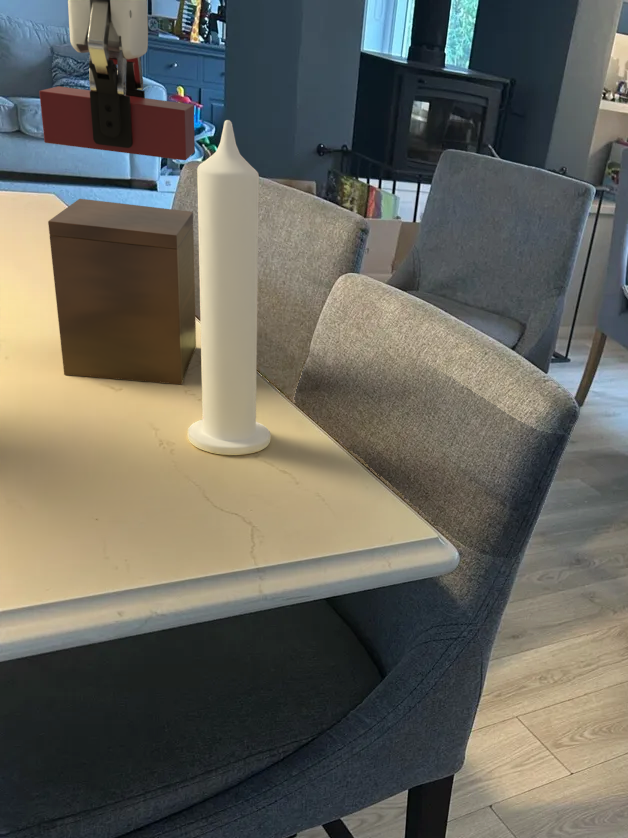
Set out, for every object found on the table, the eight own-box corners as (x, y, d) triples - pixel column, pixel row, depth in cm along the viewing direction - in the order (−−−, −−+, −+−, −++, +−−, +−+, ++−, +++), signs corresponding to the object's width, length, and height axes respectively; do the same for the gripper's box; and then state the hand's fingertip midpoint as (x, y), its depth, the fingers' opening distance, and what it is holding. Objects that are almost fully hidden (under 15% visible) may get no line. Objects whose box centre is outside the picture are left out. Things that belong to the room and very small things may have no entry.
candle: (222, 417, 82) (219, 112, 68) (286, 438, 79) (296, 127, 66) (170, 439, 76) (156, 112, 63) (237, 463, 74) (237, 128, 60)
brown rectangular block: (63, 374, 85) (47, 221, 78) (91, 337, 95) (79, 198, 88) (181, 384, 87) (176, 235, 80) (196, 347, 97) (193, 211, 90)
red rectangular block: (186, 160, 79) (184, 110, 77) (44, 142, 77) (38, 90, 75) (194, 151, 84) (193, 104, 82) (62, 135, 82) (58, 86, 80)
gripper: (81, -103, 77) (98, 126, 87) (26, -131, 63) (53, 147, 73) (170, -88, 79) (177, 136, 88) (135, -112, 64) (148, 158, 74)
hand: (121, 139), depth 80 cm, fingers closed on red rectangular block, 6 cm apart
